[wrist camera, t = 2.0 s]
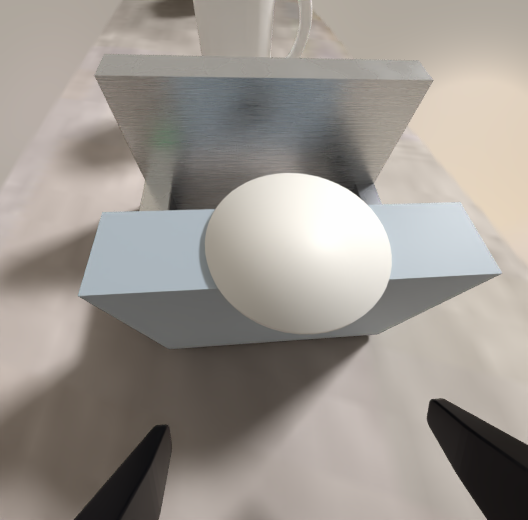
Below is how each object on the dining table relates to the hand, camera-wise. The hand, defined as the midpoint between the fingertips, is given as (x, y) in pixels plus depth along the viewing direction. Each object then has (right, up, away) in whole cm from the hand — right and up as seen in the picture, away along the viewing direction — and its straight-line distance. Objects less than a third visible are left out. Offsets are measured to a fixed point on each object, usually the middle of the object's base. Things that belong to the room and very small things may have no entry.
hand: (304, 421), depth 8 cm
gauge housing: (-1, +7, +11) cm, 13 cm away
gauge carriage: (-2, +2, +8) cm, 8 cm away
